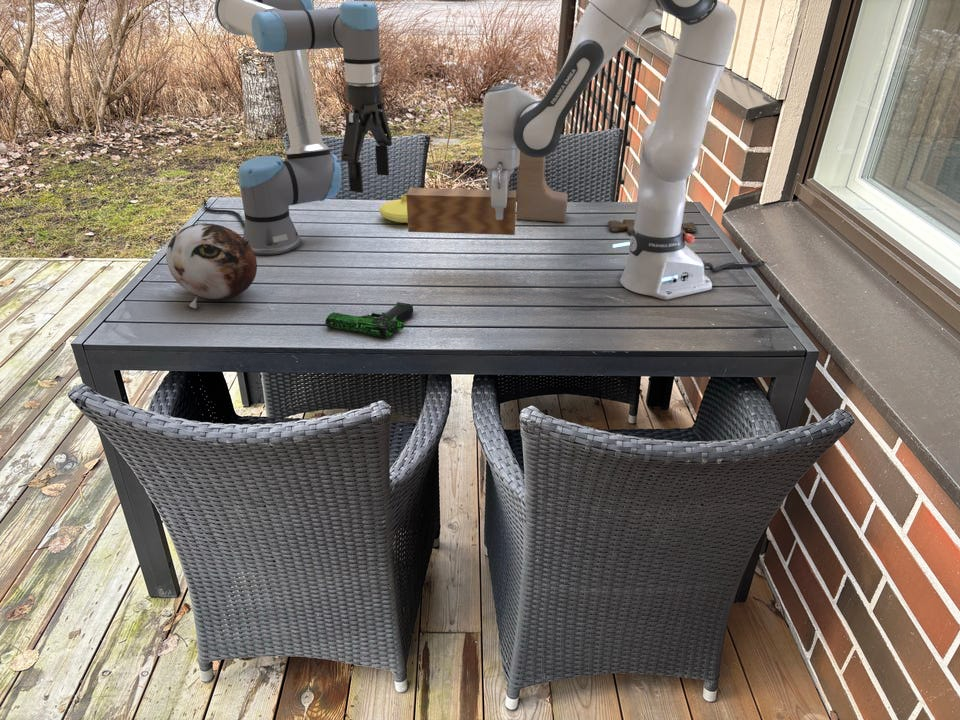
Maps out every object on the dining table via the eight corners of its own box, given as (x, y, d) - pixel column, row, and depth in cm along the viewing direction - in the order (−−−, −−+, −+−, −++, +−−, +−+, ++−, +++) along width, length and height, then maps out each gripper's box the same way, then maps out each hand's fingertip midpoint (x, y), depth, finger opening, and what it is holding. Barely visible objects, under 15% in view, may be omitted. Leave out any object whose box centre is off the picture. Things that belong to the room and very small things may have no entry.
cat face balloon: (130, 285, 161) (164, 203, 163) (192, 308, 177) (221, 233, 178) (195, 307, 151) (229, 220, 152) (254, 330, 166) (285, 250, 168)
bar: (408, 232, 176) (406, 194, 171) (411, 224, 180) (409, 187, 176) (514, 235, 174) (515, 197, 169) (515, 226, 179) (516, 190, 174)
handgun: (421, 304, 161) (388, 331, 148) (421, 316, 162) (389, 343, 150) (358, 292, 166) (322, 317, 154) (359, 304, 167) (323, 330, 155)
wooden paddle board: (699, 237, 207) (691, 225, 216) (700, 231, 206) (692, 220, 215) (610, 234, 207) (606, 222, 216) (611, 228, 207) (607, 217, 215)
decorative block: (565, 222, 215) (573, 120, 200) (515, 219, 217) (520, 117, 202) (566, 214, 222) (574, 114, 206) (518, 211, 223) (522, 112, 208)
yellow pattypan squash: (403, 206, 226) (402, 184, 222) (442, 217, 218) (442, 194, 215) (368, 220, 215) (367, 197, 211) (408, 231, 207) (407, 208, 203)
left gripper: (352, 95, 139) (360, 201, 150) (403, 75, 160) (407, 169, 171) (318, 92, 141) (328, 197, 152) (373, 73, 162) (378, 166, 173)
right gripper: (513, 170, 159) (511, 229, 166) (515, 146, 176) (513, 201, 183) (485, 169, 159) (484, 228, 166) (489, 146, 176) (489, 200, 184)
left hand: (370, 182), depth 161 cm, fingers open, 13 cm apart
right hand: (500, 214), depth 175 cm, fingers closed on bar, 5 cm apart
